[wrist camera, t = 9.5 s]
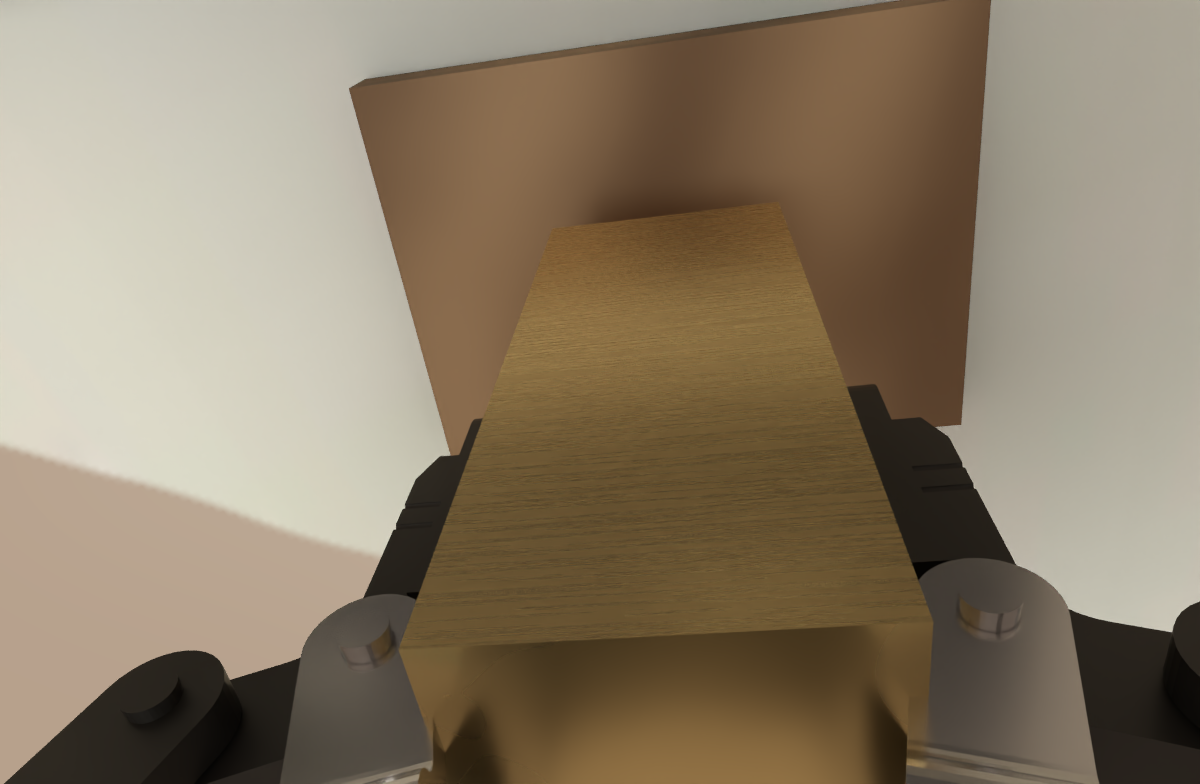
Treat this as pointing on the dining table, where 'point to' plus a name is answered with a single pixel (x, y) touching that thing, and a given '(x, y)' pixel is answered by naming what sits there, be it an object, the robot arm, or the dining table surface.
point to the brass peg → (670, 533)
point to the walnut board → (701, 179)
